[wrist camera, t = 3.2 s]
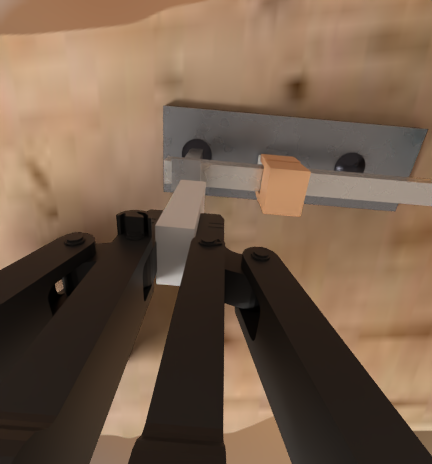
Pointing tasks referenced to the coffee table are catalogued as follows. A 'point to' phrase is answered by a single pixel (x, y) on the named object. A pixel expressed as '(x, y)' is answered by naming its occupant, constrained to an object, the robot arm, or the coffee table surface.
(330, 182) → the bar
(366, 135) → the flange plate
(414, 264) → the coffee table surface
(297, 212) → the block
